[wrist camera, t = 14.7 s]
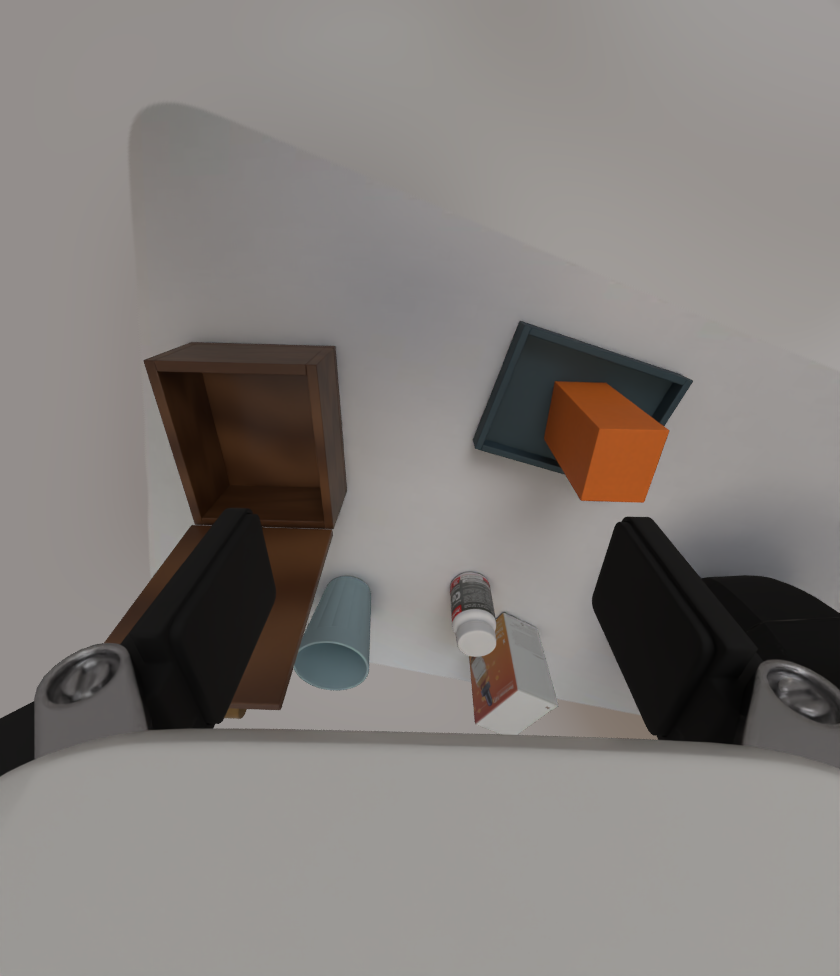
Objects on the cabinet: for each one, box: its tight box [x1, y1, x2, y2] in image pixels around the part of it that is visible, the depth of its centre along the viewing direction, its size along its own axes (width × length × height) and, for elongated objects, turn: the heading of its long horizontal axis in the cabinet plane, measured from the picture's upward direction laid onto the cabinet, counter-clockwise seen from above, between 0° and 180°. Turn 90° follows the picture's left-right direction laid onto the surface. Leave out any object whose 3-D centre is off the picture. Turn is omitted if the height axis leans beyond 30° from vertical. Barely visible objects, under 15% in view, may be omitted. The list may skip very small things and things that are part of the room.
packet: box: [544, 381, 669, 502], centre depth 32 cm, size 6×4×11 cm
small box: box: [469, 613, 558, 735], centre depth 49 cm, size 8×6×10 cm
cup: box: [293, 576, 371, 690], centre depth 45 cm, size 8×8×10 cm
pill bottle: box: [450, 572, 496, 657], centre depth 45 cm, size 5×5×8 cm
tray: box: [473, 321, 693, 474], centre depth 37 cm, size 15×11×2 cm
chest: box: [144, 342, 347, 529], centre depth 36 cm, size 15×13×7 cm
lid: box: [104, 525, 333, 719], centre depth 31 cm, size 15×13×5 cm
